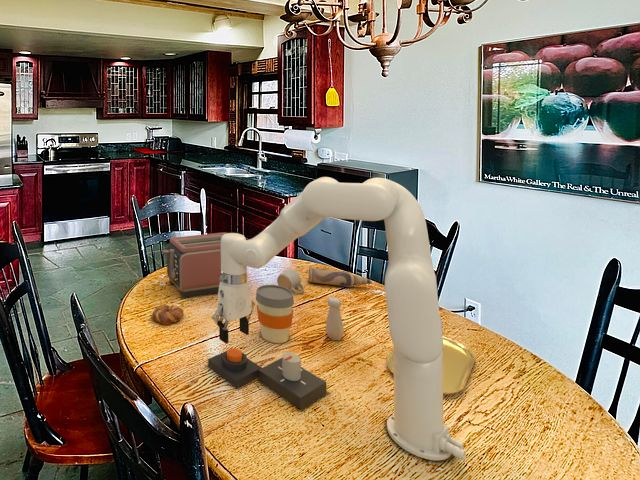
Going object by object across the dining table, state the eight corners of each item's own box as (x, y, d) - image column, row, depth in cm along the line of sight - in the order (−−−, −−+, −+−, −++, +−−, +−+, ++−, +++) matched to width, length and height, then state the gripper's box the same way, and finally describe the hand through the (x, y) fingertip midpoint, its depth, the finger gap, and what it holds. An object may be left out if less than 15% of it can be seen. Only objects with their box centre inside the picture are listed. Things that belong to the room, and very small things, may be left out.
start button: (245, 359, 116) (245, 353, 116) (234, 364, 113) (234, 358, 113) (234, 352, 119) (234, 346, 119) (223, 357, 117) (223, 351, 117)
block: (261, 375, 114) (261, 361, 114) (236, 388, 108) (236, 373, 109) (232, 355, 124) (232, 342, 124) (208, 366, 118) (207, 352, 118)
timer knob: (289, 367, 112) (289, 349, 113) (304, 376, 109) (304, 357, 109) (278, 374, 110) (278, 354, 110) (293, 383, 106) (293, 363, 106)
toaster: (157, 283, 181) (156, 238, 181) (228, 273, 191) (227, 231, 192) (170, 301, 162) (170, 251, 162) (248, 289, 173) (248, 242, 173)
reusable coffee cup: (298, 333, 137) (298, 289, 137) (288, 350, 126) (287, 303, 127) (263, 323, 144) (263, 281, 144) (250, 338, 134) (250, 294, 134)
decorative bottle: (309, 285, 177) (308, 270, 177) (308, 279, 184) (308, 264, 185) (373, 292, 169) (373, 277, 169) (370, 286, 176) (370, 271, 176)
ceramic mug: (275, 288, 174) (275, 271, 174) (285, 283, 179) (285, 266, 179) (298, 297, 166) (298, 278, 166) (307, 291, 171) (307, 273, 171)
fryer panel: (326, 393, 106) (326, 381, 106) (300, 409, 100) (300, 397, 100) (284, 366, 118) (283, 356, 118) (258, 380, 112) (258, 369, 112)
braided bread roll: (178, 309, 155) (178, 300, 155) (187, 323, 144) (187, 312, 144) (148, 313, 152) (148, 303, 152) (155, 327, 141) (155, 317, 141)
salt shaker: (346, 342, 131) (345, 303, 131) (327, 340, 132) (327, 301, 132) (341, 333, 136) (341, 295, 137) (323, 331, 138) (323, 294, 138)
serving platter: (377, 375, 114) (377, 370, 114) (411, 330, 138) (411, 326, 138) (458, 409, 100) (457, 402, 100) (479, 352, 124) (479, 347, 124)
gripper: (220, 288, 109) (220, 352, 108) (263, 274, 118) (264, 333, 118) (202, 279, 115) (203, 340, 115) (245, 267, 125) (245, 323, 124)
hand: (234, 336), depth 116 cm, fingers open, 7 cm apart
